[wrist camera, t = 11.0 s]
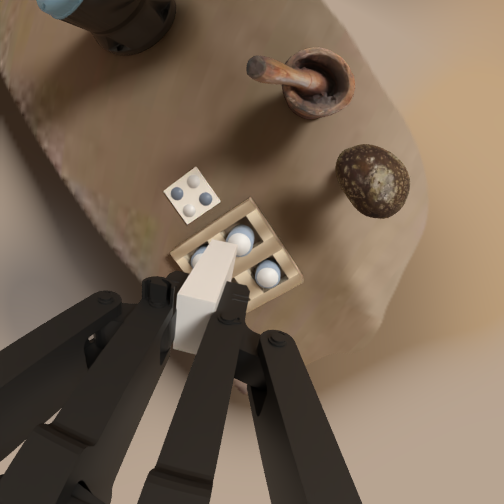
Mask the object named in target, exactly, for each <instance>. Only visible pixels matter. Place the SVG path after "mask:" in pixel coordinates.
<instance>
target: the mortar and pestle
mask: <svg viewBox="0 0 504 504" xmlns="http://www.w3.org/2000/svg"><path fill="white" fill-rule="evenodd" d="M247 74H248V75H249V76H250V77H251V78H252V79H253V80H256V81H258V82H262V83H268V84H282V90H283V93H284V96H285V98H286V101H287V104H288V106H289V108H290V109H291V110H292V111H293V112H294V113H296V114H297V115H299V116H300V117H303V118H306V119H316V118H319V117H325V116H329V115H332V114H334V113H336V112H338V111H340V110H342V109H343V108H345V107H346V106H348V105H349V103H350V102H351V100H352V97H353V95H354V90H355V80H354V75H353V73H352V72H351V70H350V67H349V66H348V65H347V63H346V62H345V61H344V60H343V59H342V58H341V57H340V56H339V55H337V54H336V53H334V52H332V51H330V50H327V49H323V48H319V47H314V48H305V49H304V50H300V51H298V52H297V53H296V54H294V55H293V56H291V57H290V58H289V59H288V61H287V62H286V63H285V64H283V63H281V62H279V61H277V60H275V59H272V58H269V57H265V56H253V57H252V58H250V60H249V61H248V63H247Z"/></svg>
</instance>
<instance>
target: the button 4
mask: <svg viewBox="0 0 504 504" xmlns="http://www.w3.org/2000/svg"><path fill="white" fill-rule="evenodd" d="M255 279H256V282H257V284H258V285H259V286H261V287H263V288H273V287H275V286H276V285H277V284H278V283H279V281H280V265H279V263H278V262H277V260H275V259H273V258H266V259H265V260H263V261H261V262H259V263H258V264H257V268H256V274H255Z"/></svg>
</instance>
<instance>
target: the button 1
mask: <svg viewBox="0 0 504 504" xmlns="http://www.w3.org/2000/svg"><path fill="white" fill-rule="evenodd" d="M207 246H208V244H205V245H202V246H200V247H199V248H198V249H197V251H196V252H195V253H194V255H193V256H192V258H191V266H192V268H194V267H195V265H196V263H197V262H198V260H199V259H200V257H201V256H202V254H203V253H204V251H205V249H206V248H207Z"/></svg>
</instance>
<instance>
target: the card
mask: <svg viewBox="0 0 504 504" xmlns="http://www.w3.org/2000/svg"><path fill="white" fill-rule="evenodd" d="M164 193H165V194H166V196H167V197H168V198H169V200H170V201H171V203H172V204H173V205H174V207H175V208H176V210H177V211H178V212H179V214H180V215H181V217H182V218H183V219H184V221H185V222H186V224H187V225H188V224H189V223H191V222H192V221H193V220H195V219H196V218H198V217H199V216H201V215H202V214H203V213H205V212H206V211H208V210H209V209H211V208H212V207H214V206H215V205H217V204H218V203H220V202H221V201H220V200H219V198H218V197H217V195H216V194H215V192H214V191H213V190H212V188H211V187H210V185H209V184H208V182H207V181H206V180H205V178H204V177H203V175H202V174H201V172H200V171H199V170H198V168H197V167H195V168H193V169H192V170H191V171H189V172H188V173H187V174H185V175H184V176H183V177H181V178H180V179H179V180H177V181H176V182H175V183H173V184H172V185H171V186H169V187H168V188H167V189H166V190H164Z"/></svg>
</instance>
